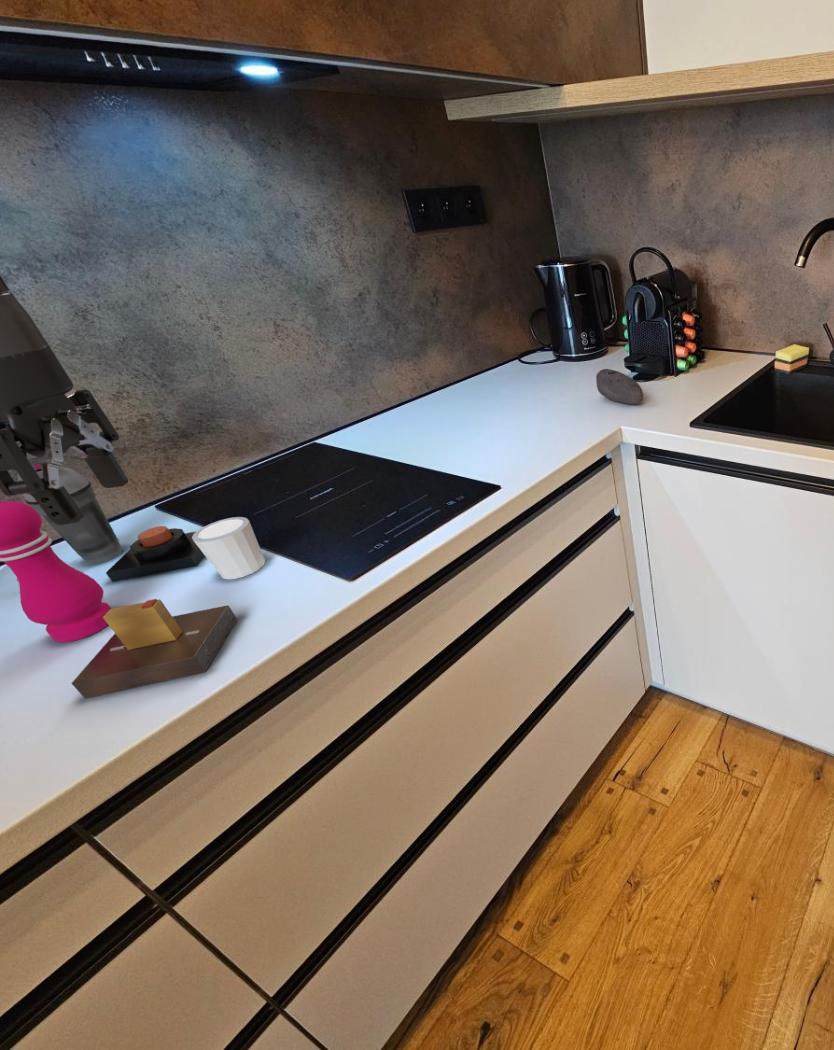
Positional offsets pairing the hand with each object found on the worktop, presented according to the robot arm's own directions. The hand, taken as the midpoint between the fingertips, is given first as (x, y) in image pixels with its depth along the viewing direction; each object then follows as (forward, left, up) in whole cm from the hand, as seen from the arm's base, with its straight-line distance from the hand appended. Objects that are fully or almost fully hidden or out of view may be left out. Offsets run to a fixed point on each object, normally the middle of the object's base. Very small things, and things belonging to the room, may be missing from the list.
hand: (95, 503), depth 62 cm
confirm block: (-13, +25, -20) cm, 35 cm away
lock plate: (-2, -2, -20) cm, 20 cm away
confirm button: (-13, +25, -17) cm, 33 cm away
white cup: (0, +17, -20) cm, 27 cm away
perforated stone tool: (+66, +65, -20) cm, 95 cm away
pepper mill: (-16, +9, -20) cm, 28 cm away
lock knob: (-2, -2, -18) cm, 18 cm away
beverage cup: (-24, +30, -20) cm, 44 cm away
